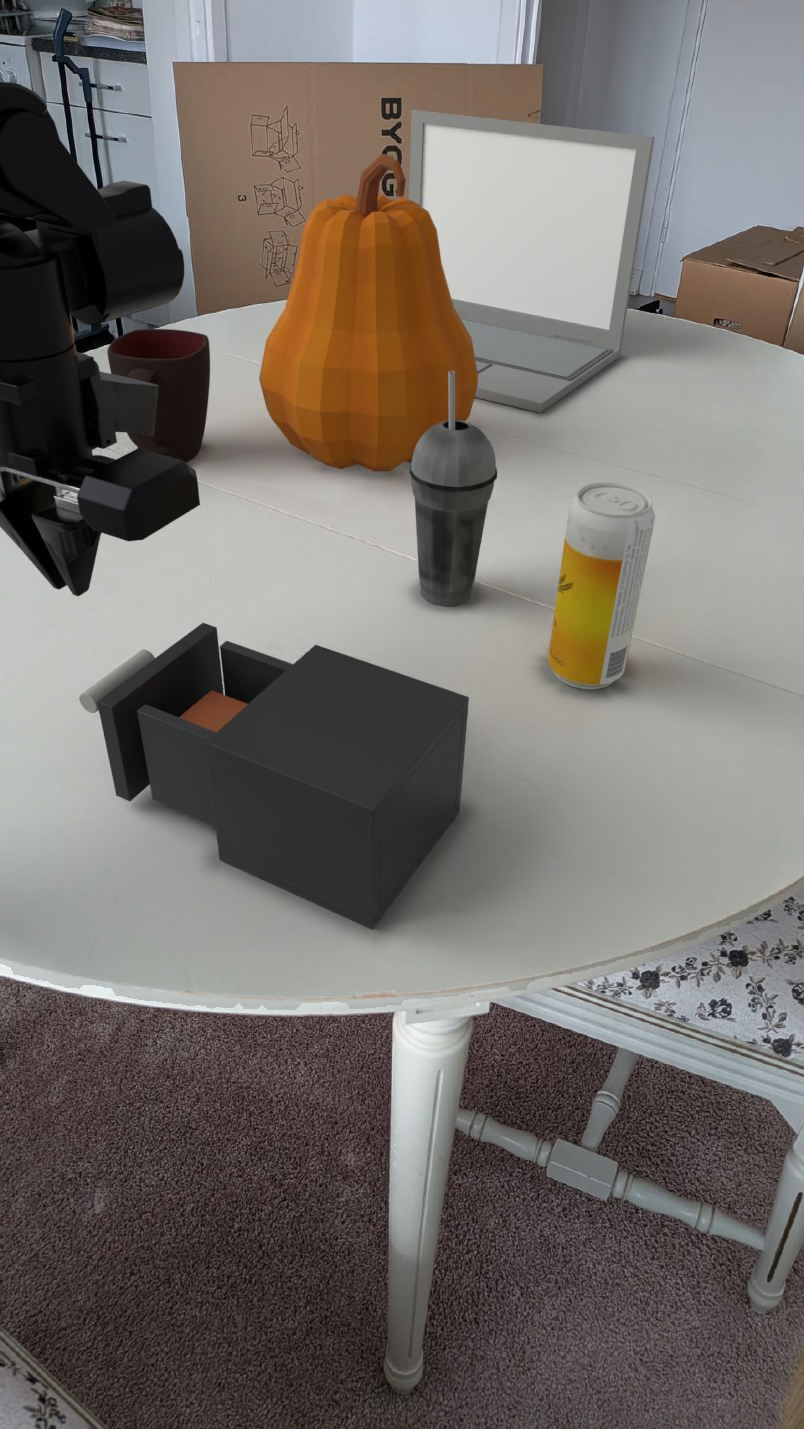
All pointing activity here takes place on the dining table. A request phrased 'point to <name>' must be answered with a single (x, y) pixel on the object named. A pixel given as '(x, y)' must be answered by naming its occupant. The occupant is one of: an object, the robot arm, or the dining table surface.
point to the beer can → (600, 583)
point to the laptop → (533, 244)
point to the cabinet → (338, 781)
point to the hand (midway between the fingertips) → (71, 589)
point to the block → (213, 711)
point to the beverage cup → (451, 504)
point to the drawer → (173, 715)
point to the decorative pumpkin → (367, 333)
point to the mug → (168, 385)
